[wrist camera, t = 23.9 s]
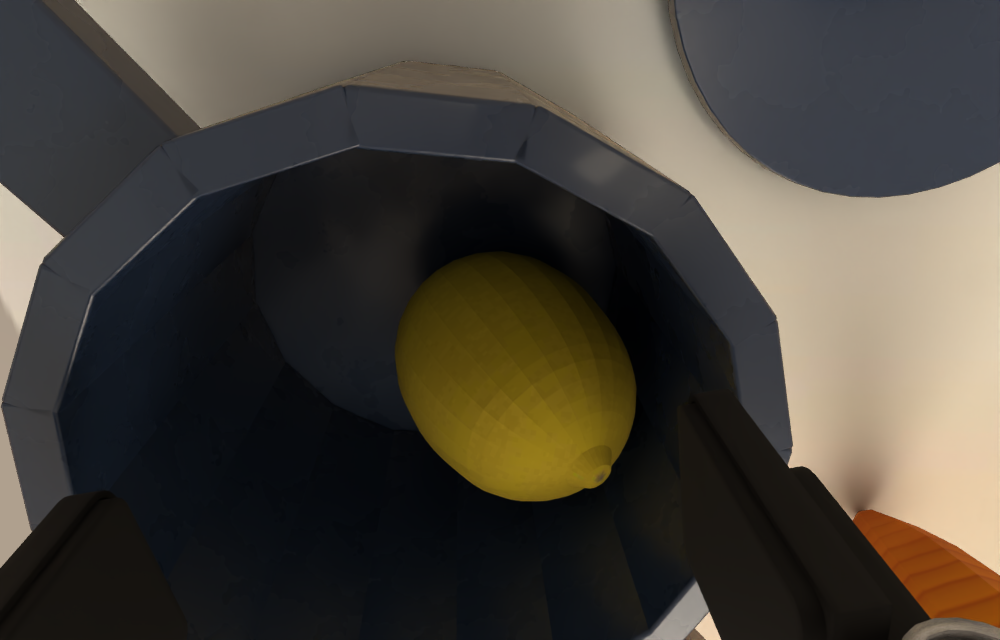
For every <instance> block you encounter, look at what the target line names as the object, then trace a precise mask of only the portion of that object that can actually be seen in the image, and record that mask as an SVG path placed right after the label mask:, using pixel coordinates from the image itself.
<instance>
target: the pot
mask: <svg viewBox="0 0 1000 640" xmlns="http://www.w3.org/2000/svg"><path fill="white" fill-rule="evenodd" d="M0 183H1V184H2V185H3V186H5V187H6V188H7V189H8V190H9V191H10V192H12V193H13V194H14V195H15V196H16V197H17V198H19V199H20V200H21V201H22V202H23V203H24V204H26V205H27V206H28V207H29V208H30V209H31V210H33V211H34V212H35V213H36V214H37V215H38V216H40V217H41V218H42V219H43V220H44V221H45V222H47V223H48V224H49V225H50V226H51V227H52V228H54V229H55V230H56V231H57V232H58V233H59V234H61V235H62V236H63V237H64V238H63V239H62V240H61V241H60V242H59V243H58V244H57V245H56V246H55V247H54V248H53V249H52V250H51V251H50V252H49V253H48V254H47V255H46V256H45V257H44V259H43V263H42V264H41V265H40V266H39V269H38V273H37V276H36V280H35V283H34V287H33V291H32V294H31V298H30V301H29V305H28V308H27V312H26V315H25V319H24V323H23V326H22V330H21V333H20V337H19V341H18V344H17V348H16V352H15V355H14V358H13V362H12V365H11V369H10V373H9V376H8V380H7V383H6V387H5V390H4V394H3V397H2V401H3V402H2V405H1V408H2V412H3V416H4V421H5V425H6V429H7V433H8V437H9V441H10V445H11V450H12V454H13V458H14V461H15V466H16V470H17V474H18V479H19V482H20V487H21V491H22V495H23V499H24V503H25V508H26V511H27V516H28V520H29V524H30V528H31V530H32V531H33V530H34V529H35V528H36V527H37V526H38V525H39V523H40V522H41V521H42V520H43V519H44V518H45V517H46V515H47V514H48V513H49V512H50V511H51V510H52V509H53V507H54V506H55V505H56V504H57V503H58V502H59V501H60V500H61V499H62V498H64V497H67V496H70V495H76V494H82V493H88V492H94V491H100V490H107V491H110V492H112V493H113V494H114V495H115V496H116V497H118V498H122V499H124V500H125V501H126V503H127V504H128V506H129V508H130V510H131V512H132V514H133V516H134V518H135V520H136V522H137V523H138V525H139V527H140V529H141V531H142V533H143V535H144V537H145V539H146V541H147V543H148V545H149V547H150V549H151V551H152V553H153V555H154V557H155V559H156V561H157V563H158V565H159V567H160V569H161V571H162V573H163V575H164V577H165V578H166V580H167V582H168V584H169V586H170V588H171V590H172V592H173V594H174V596H175V598H176V600H177V602H178V604H179V606H180V608H181V610H182V612H183V614H184V616H185V618H186V621H187V626H188V635H187V640H705V639H704V637H703V636H702V635H701V634H700V633H699V632H698V631H697V630H696V629H695V627H696V626H697V625H698V624H699V623H700V622H701V620H702V619H703V618H704V617H705V616H706V615H707V614H708V612H709V609H708V607H707V605H706V602H705V600H704V598H703V595H702V593H701V591H700V588H699V586H698V584H697V581H696V579H695V577H694V574H693V572H692V570H691V567H690V565H689V562H688V559H687V556H686V552H685V547H684V540H683V523H682V502H681V482H680V462H679V441H678V421H677V410H678V407H679V406H681V405H687V404H688V399H689V396H690V395H691V394H695V393H701V392H707V391H713V390H720V389H729V390H730V391H731V392H732V393H733V394H734V395H735V397H736V398H737V399H738V401H739V402H740V403H741V405H742V406H743V407H744V409H745V410H746V411H747V413H748V414H749V415H750V417H751V418H752V419H753V421H754V422H755V423H756V424H757V426H758V427H759V428H760V430H761V431H762V432H763V434H764V435H765V436H766V438H767V439H768V440H769V442H770V443H771V444H772V446H773V447H774V448H775V450H776V451H777V452H778V454H779V455H780V456H781V458H782V459H783V460H784V462H785V463H786V464H787V465H788V462H789V459H790V456H791V453H792V449H791V447H792V446H793V442H792V434H791V426H790V418H789V410H788V402H787V394H786V386H785V378H784V370H783V361H782V353H781V345H780V337H779V329H778V322H777V320H776V319H777V318H776V315H775V314H774V312H773V311H772V309H771V308H770V306H769V305H768V303H767V302H766V300H765V299H764V297H763V296H762V295H761V293H760V292H759V290H758V289H757V287H756V286H755V284H754V283H753V281H752V280H751V278H750V277H749V275H748V274H747V273H746V271H745V270H744V268H743V267H742V265H741V264H740V262H739V261H738V259H737V258H736V256H735V255H734V253H733V252H732V251H731V249H730V248H729V246H728V245H727V243H726V242H725V240H724V239H723V237H722V236H721V234H720V233H719V232H718V230H717V229H716V227H715V226H714V224H713V223H712V221H711V220H710V218H709V217H708V215H707V214H706V212H705V211H704V210H703V208H702V207H701V205H700V204H699V202H698V201H697V199H696V198H695V196H693V195H692V194H690V192H689V191H688V190H686V189H685V188H683V187H682V186H680V185H679V184H677V183H676V182H674V181H673V180H671V179H670V178H668V177H667V176H665V175H664V174H662V173H661V172H659V171H658V170H656V169H655V168H653V167H652V166H650V165H649V164H647V163H646V162H644V161H643V160H641V159H639V158H638V157H636V156H635V155H633V154H632V153H630V152H629V151H627V150H626V149H624V148H623V147H621V146H620V145H618V144H617V143H615V142H614V141H612V140H611V139H609V138H608V137H606V136H605V135H603V134H602V133H600V132H599V131H597V130H596V129H594V128H593V127H591V126H590V125H588V124H587V123H585V122H584V121H582V120H581V119H579V118H578V117H576V116H575V115H573V114H571V113H570V112H568V111H566V110H564V109H563V108H561V107H559V106H557V105H556V104H554V103H552V102H551V101H549V100H547V99H545V98H544V97H542V96H540V95H539V94H537V93H535V92H533V91H532V90H530V89H528V88H527V87H525V86H523V85H521V84H520V83H518V82H516V81H514V80H513V79H511V78H509V77H508V76H506V75H504V74H502V73H501V72H496V71H495V70H486V69H477V68H468V67H460V66H455V65H441V64H432V63H423V62H414V61H407V62H405V61H402V62H399V63H396V64H393V65H390V66H387V67H384V68H381V69H378V70H375V71H371V72H368V73H365V74H362V75H359V76H356V77H353V78H350V79H347V80H344V81H341V82H338V83H335V84H331V85H328V86H325V87H322V88H319V89H316V90H313V91H310V92H307V93H304V94H302V95H299V96H296V97H293V98H290V99H287V100H284V101H281V102H278V103H275V104H272V105H269V106H266V107H263V108H260V109H257V110H254V111H251V112H249V113H246V114H243V115H240V116H237V117H234V118H231V119H228V120H225V121H222V122H219V123H216V124H213V125H210V126H207V127H204V128H200V127H199V126H198V125H197V124H196V123H195V122H194V121H193V120H192V119H191V118H190V117H189V116H188V115H187V114H186V113H185V112H184V111H183V110H182V109H181V108H180V107H179V106H178V105H177V104H176V103H175V102H174V101H173V100H172V99H171V98H170V97H169V96H168V94H167V93H166V92H165V91H164V90H163V89H162V88H161V87H160V86H159V85H158V84H157V83H156V82H155V81H154V80H153V79H152V78H151V77H150V76H149V75H148V74H147V73H146V72H145V71H144V70H143V69H142V68H141V67H140V66H139V65H138V64H137V63H136V62H135V61H134V60H133V59H132V58H131V57H130V56H129V55H128V54H127V53H126V52H125V51H124V50H123V49H122V48H121V47H120V46H119V45H118V44H117V43H116V42H115V41H114V40H113V39H112V38H111V37H110V36H109V35H108V34H107V33H106V32H105V31H104V30H103V29H102V28H101V27H100V26H99V25H98V24H97V23H96V22H95V21H94V20H93V19H92V18H91V17H90V15H89V14H88V13H87V12H86V11H85V10H84V9H83V8H82V7H81V6H80V5H79V4H78V3H77V2H76V1H75V0H0ZM495 251H504V252H509V253H514V254H520V255H525V256H530V257H533V258H535V259H538V260H540V261H542V262H544V263H546V264H548V265H549V266H551V267H553V268H555V269H557V270H558V271H560V272H562V273H564V274H565V275H567V276H568V277H570V278H571V279H573V280H574V281H575V282H576V283H577V284H579V285H580V286H581V287H582V288H583V289H584V290H585V291H586V292H587V293H588V294H589V295H590V296H591V297H592V299H593V300H594V301H595V302H596V304H597V305H598V306H599V307H600V308H601V310H602V311H603V312H604V313H605V315H606V316H607V317H608V318H609V320H610V321H611V323H612V324H613V326H614V327H615V329H616V330H617V332H618V334H619V336H620V337H621V339H622V341H623V343H624V345H625V347H626V349H627V352H628V355H629V358H630V361H631V365H632V368H633V372H634V375H635V381H636V388H637V389H636V407H635V417H634V421H633V425H632V428H631V431H630V434H629V437H628V440H627V442H626V444H625V446H624V448H623V450H622V451H621V453H620V455H619V457H618V458H617V459H616V461H615V462H614V463H613V464H612V466H611V472H610V475H609V476H608V478H607V479H606V480H605V481H604V482H603V483H602V484H600V485H599V486H597V487H595V488H584V489H582V490H580V491H578V492H576V493H574V494H571V495H569V496H565V497H561V498H557V499H553V500H548V501H517V500H510V499H506V498H503V497H500V496H497V495H494V494H491V493H489V492H486V491H484V490H482V489H480V488H478V487H477V486H475V485H473V484H472V483H471V482H469V481H468V480H467V479H465V478H464V477H463V476H462V475H460V474H459V473H458V472H457V471H456V470H455V469H453V468H452V467H451V466H450V465H449V464H448V463H446V462H445V461H444V460H443V459H442V458H441V457H440V456H439V455H438V454H437V453H436V452H435V451H434V450H433V448H432V447H431V446H430V445H429V444H428V442H427V441H426V440H425V438H424V437H423V435H422V434H421V432H420V431H419V429H418V427H417V426H416V424H415V422H414V420H413V418H412V416H411V414H410V412H409V410H408V408H407V406H406V404H405V402H404V399H403V397H402V394H401V391H400V387H399V384H398V377H397V370H396V362H395V343H396V338H397V332H398V326H399V322H400V319H401V317H402V315H403V313H404V311H405V308H406V306H407V304H408V302H409V300H410V299H411V297H412V296H413V295H414V293H415V292H416V291H417V289H418V288H419V287H420V285H421V284H422V283H423V282H424V281H425V280H426V279H427V278H429V277H430V276H431V275H432V274H433V273H434V272H435V271H436V270H438V269H440V268H441V267H443V266H445V265H447V264H448V263H450V262H452V261H454V260H457V259H460V258H463V257H466V256H469V255H472V254H475V253H483V252H495Z"/></svg>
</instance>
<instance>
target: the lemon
mask: <svg viewBox="0 0 1000 640" xmlns="http://www.w3.org/2000/svg"><path fill="white" fill-rule="evenodd" d="M395 362H396V370H397V377H398V384H399V387H400V391H401V394H402V397H403V399H404V402H405V404H406V406H407V408H408V410H409V412H410V414H411V416H412V418H413V420H414V422H415V424H416V426H417V427H418V429H419V431H420V432H421V434H422V435H423V437H424V438H425V440H426V441H427V442H428V444H429V445H430V446H431V447H432V448H433V450H434V451H435V452H436V453H437V454H438V455H439V456H440V457H441V458H442V459H443V460H444V461H445V462H446V463H448V464H449V465H450V466H451V467H452V468H453V469H455V470H456V471H457V472H458V473H459V474H460V475H462V476H463V477H464V478H465V479H467V480H468V481H469V482H471V483H472V484H473V485H475V486H477V487H478V488H480V489H482V490H484V491H486V492H489V493H491V494H494V495H497V496H500V497H503V498H506V499H510V500H517V501H548V500H553V499H557V498H561V497H565V496H569V495H571V494H574V493H576V492H578V491H580V490H582V489H584V488H595V487H597V486H599V485H600V484H602V483H603V482H604V481H605V480H606V479H607V478H608V476H609V475H610V472H611V466H612V464H613V463H614V462H615V461H616V459H617V458H618V457H619V455H620V453H621V451H622V450H623V448H624V446H625V444H626V442H627V440H628V437H629V434H630V431H631V428H632V425H633V421H634V417H635V407H636V389H637V388H636V381H635V375H634V372H633V368H632V365H631V361H630V358H629V355H628V352H627V349H626V347H625V345H624V343H623V341H622V339H621V337H620V336H619V334H618V332H617V330H616V329H615V327H614V326H613V324H612V323H611V321H610V320H609V318H608V317H607V316H606V315H605V313H604V312H603V311H602V310H601V308H600V307H599V306H598V305H597V304H596V302H595V301H594V300H593V299H592V297H591V296H590V295H589V294H588V293H587V292H586V291H585V290H584V289H583V288H582V287H581V286H580V285H579V284H577V283H576V282H575V281H574V280H573V279H571V278H570V277H568V276H567V275H565V274H564V273H562V272H560V271H558V270H557V269H555V268H553V267H551V266H549V265H548V264H546V263H544V262H542V261H540V260H538V259H535V258H533V257H530V256H525V255H520V254H514V253H509V252H504V251H495V252H483V253H475V254H472V255H469V256H466V257H463V258H460V259H457V260H454V261H452V262H450V263H448V264H447V265H445V266H443V267H441V268H440V269H438V270H436V271H435V272H434V273H433V274H432V275H431V276H430V277H429V278H427V279H426V280H425V281H424V282H423V283H422V284H421V285H420V287H419V288H418V289H417V291H416V292H415V293H414V295H413V296H412V297H411V299H410V300H409V302H408V304H407V306H406V308H405V311H404V313H403V315H402V317H401V319H400V322H399V326H398V332H397V338H396V343H395Z"/></svg>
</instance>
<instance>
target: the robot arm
mask: <svg viewBox="0 0 1000 640" xmlns="http://www.w3.org/2000/svg"><path fill="white" fill-rule="evenodd" d="M677 421H678V441H679V462H680V482H681V502H682V523H683V540H684V547H685V552H686V556H687V559H688V562H689V565H690V567H691V570H692V572H693V574H694V577H695V579H696V581H697V584H698V586H699V588H700V591H701V593H702V595H703V598H704V600H705V602H706V605H707V607H708V609H709V612H710V614H711V616H712V619H713V621H714V623H715V626H716V628H717V630H718V633H719V635H720V637H721V640H1000V628H997V627H995V626H992V625H989V624H987V623H984V622H979V621H974V620H969V619H963V618H958V617H956V618H933V619H931V618H930V617H929V616H928V614H927V613H926V612H925V611H924V609H923V608H922V607H921V606H920V604H919V603H918V602H917V601H916V599H915V598H914V597H913V596H912V594H911V593H910V592H909V591H908V589H907V588H906V587H905V586H904V584H903V583H902V582H901V581H900V580H899V578H898V577H897V576H896V575H895V573H894V572H893V571H892V570H891V568H890V567H889V566H888V565H887V563H886V562H885V561H884V560H883V558H882V557H881V556H880V555H879V553H878V552H877V551H876V550H875V548H874V547H873V546H872V545H871V543H870V542H869V541H868V540H867V538H866V537H865V536H864V535H863V533H862V532H861V531H860V530H859V528H858V527H857V526H856V525H855V524H854V522H853V521H852V520H851V519H850V517H849V516H848V515H847V514H846V512H845V511H844V510H843V509H842V507H841V506H840V505H839V504H838V502H837V501H836V500H835V499H834V497H833V496H832V495H831V494H830V492H829V491H828V490H827V489H826V487H825V486H824V485H823V484H822V482H821V481H820V480H819V479H818V477H817V476H816V475H815V474H814V473H813V472H812V471H811V470H810V469H808V468H806V467H803V466H801V467H795V468H789V467H788V465H787V464H786V463H785V462H784V460H783V459H782V458H781V456H780V455H779V454H778V452H777V451H776V450H775V448H774V447H773V446H772V444H771V443H770V442H769V440H768V439H767V438H766V436H765V435H764V434H763V432H762V431H761V430H760V428H759V427H758V426H757V424H756V423H755V422H754V421H753V419H752V418H751V417H750V415H749V414H748V413H747V411H746V410H745V409H744V407H743V406H742V405H741V403H740V402H739V401H738V399H737V398H736V397H735V395H734V394H733V393H732V392H731V391H730V390H729V389H720V390H713V391H707V392H701V393H695V394H691V395H690V396H689V399H688V404H687V405H681V406H679V407H678V410H677ZM187 635H188V626H187V621H186V618H185V616H184V614H183V612H182V610H181V608H180V606H179V604H178V602H177V600H176V598H175V596H174V594H173V592H172V590H171V588H170V586H169V584H168V582H167V580H166V578H165V577H164V575H163V573H162V571H161V569H160V567H159V565H158V563H157V561H156V559H155V557H154V555H153V553H152V551H151V549H150V547H149V545H148V543H147V541H146V539H145V537H144V535H143V533H142V531H141V529H140V527H139V525H138V523H137V522H136V520H135V518H134V516H133V514H132V512H131V510H130V508H129V506H128V504H127V503H126V501H125V500H124V499H122V498H118V497H116V496H115V495H114V494H113V493H112V492H110V491H107V490H100V491H94V492H88V493H82V494H76V495H70V496H67V497H64V498H62V499H61V500H60V501H59V502H58V503H57V504H56V505H55V506H54V507H53V509H52V510H51V511H50V512H49V513H48V514H47V515H46V517H45V518H44V519H43V520H42V521H41V522H40V523H39V525H38V526H37V527H36V528H35V529H34V530H33V531H32V533H31V534H30V535H29V536H28V537H27V539H26V540H25V541H24V542H23V543H22V544H21V546H20V547H19V548H18V549H17V550H16V551H15V552H14V553H13V554H12V556H11V557H10V558H9V559H8V560H7V561H6V562H5V564H4V565H3V566H2V567H1V568H0V640H187Z"/></svg>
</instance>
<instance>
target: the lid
mask: <svg viewBox="0 0 1000 640" xmlns="http://www.w3.org/2000/svg"><path fill="white" fill-rule="evenodd" d="M668 7H669V16H670V21H671V25H672V29H673V34H674V38H675V42H676V47H677V50H678V53H679V56H680V58H681V61H682V64H683V66H684V69H685V72H686V74H687V77H688V80H689V82H690V84H691V86H692V87H693V89H694V91H695V93H696V95H697V97H698V98H699V100H700V102H701V104H702V106H703V108H704V109H705V110H706V112H707V113H708V114H709V116H710V117H711V118H712V120H713V121H714V122H715V124H716V125H717V126H718V128H719V129H720V131H721V132H722V133H723V134H724V135H725V136H726V137H727V138H728V139H729V140H730V141H731V142H732V143H733V144H734V145H735V146H736V147H737V148H738V149H739V150H741V151H742V152H743V153H744V154H746V155H747V156H748V157H750V158H751V159H753V160H754V161H755V162H757V163H758V164H760V165H761V166H762V167H764V168H766V169H768V170H770V171H772V172H774V173H776V174H777V175H779V176H781V177H783V178H785V179H787V180H790V181H792V182H794V183H797V184H800V185H803V186H806V187H809V188H812V189H815V190H818V191H821V192H825V193H831V194H837V195H843V196H849V197H877V198H880V197H890V196H899V195H909V194H913V193H918V192H922V191H926V190H930V189H935V188H939V187H942V186H945V185H948V184H951V183H953V182H956V181H959V180H962V179H965V178H967V177H970V176H972V175H974V174H976V173H978V172H981V171H983V170H985V169H987V168H989V167H991V166H993V165H995V164H997V163H999V162H1000V0H668Z"/></svg>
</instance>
